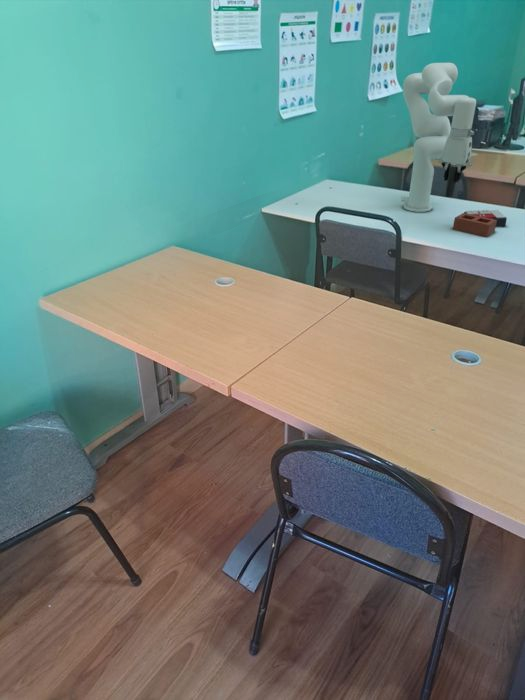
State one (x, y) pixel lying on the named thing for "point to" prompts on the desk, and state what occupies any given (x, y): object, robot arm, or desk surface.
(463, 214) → the hollow brick
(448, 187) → the peg
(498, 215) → the calculator
